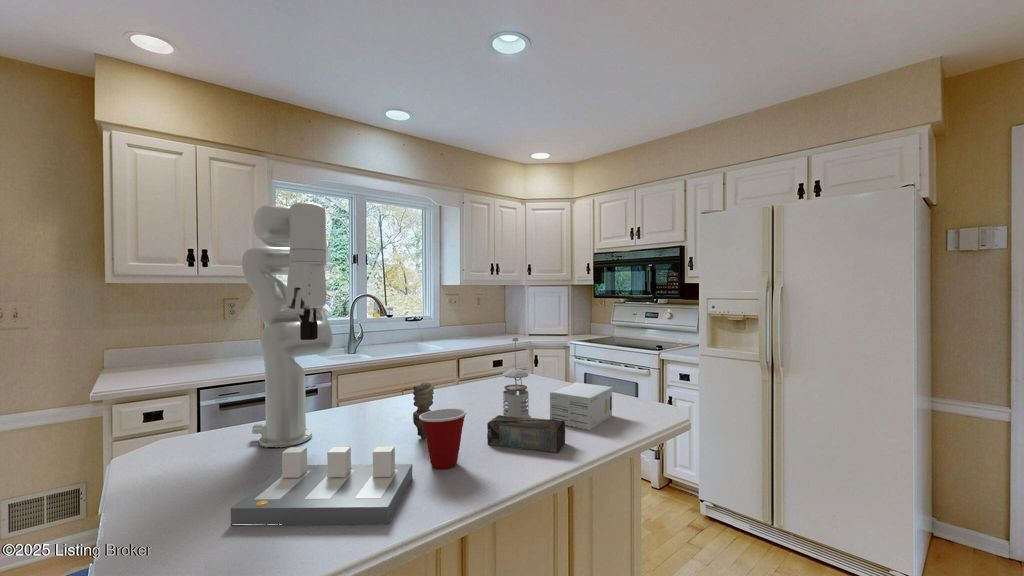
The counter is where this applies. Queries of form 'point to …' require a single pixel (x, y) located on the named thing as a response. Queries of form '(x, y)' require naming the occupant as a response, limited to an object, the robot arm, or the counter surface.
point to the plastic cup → (443, 436)
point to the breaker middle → (339, 461)
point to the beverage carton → (526, 433)
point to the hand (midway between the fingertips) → (309, 339)
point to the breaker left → (294, 462)
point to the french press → (516, 402)
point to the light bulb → (422, 404)
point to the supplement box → (581, 405)
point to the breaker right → (383, 461)
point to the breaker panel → (325, 498)
